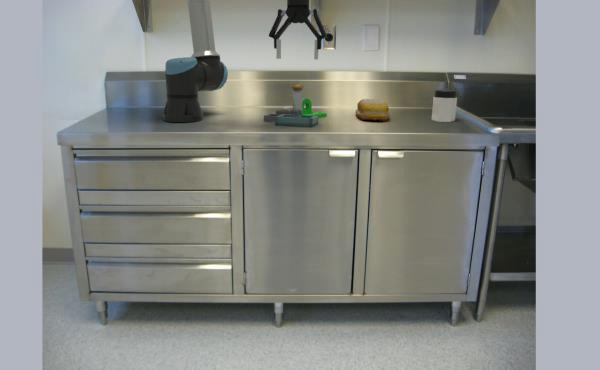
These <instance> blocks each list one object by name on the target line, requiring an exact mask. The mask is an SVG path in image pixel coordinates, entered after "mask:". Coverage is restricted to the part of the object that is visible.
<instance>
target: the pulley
mask: <svg viewBox="0 0 600 370" xmlns="http://www.w3.org/2000/svg"><path fill="white" fill-rule="evenodd" d="M291 108H292V107H291V106H289V105H288V106H287V105H286V106H283V108H282V109H279V110H275V114H291V115H293V109H291Z"/></svg>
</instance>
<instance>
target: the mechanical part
mask: <svg viewBox="0 0 600 370" xmlns="http://www.w3.org/2000/svg"><path fill="white" fill-rule="evenodd" d="M312 110H313V109H312V101H311V100H310V99H309V98H303V97H302V115H313V116H318V119H322V118H326V117H327V115H328V113H327V112H321V111H317V112H312Z"/></svg>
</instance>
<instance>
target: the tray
mask: <svg viewBox="0 0 600 370" xmlns="http://www.w3.org/2000/svg"><path fill="white" fill-rule="evenodd" d="M274 123H275V124H274V126H280V127H282V126H284V127H297V128H299V127H301V128H302V127H303V128H314V127H315V126H317V125H319V118H318V116H313V115H302V118H298V117H293V115H291V114H282V115H279V116H276V117H275V122H274Z"/></svg>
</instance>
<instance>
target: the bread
mask: <svg viewBox="0 0 600 370" xmlns="http://www.w3.org/2000/svg"><path fill="white" fill-rule="evenodd" d="M356 104H357V105H356V106H357V108H356V110H355V114H356V115H355V116H357V117H358V119H360V120H361V121H365V120H366V121H376V122H377V121H380V122H385V121H387V120H388V119H390V115H391V114H390V111H389V108H390V107H389V105H388V104H387V102H386V101H384V100H381V99H375V98H374V99H373V98H363V99H361V100H359V101H358V103H356Z"/></svg>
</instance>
